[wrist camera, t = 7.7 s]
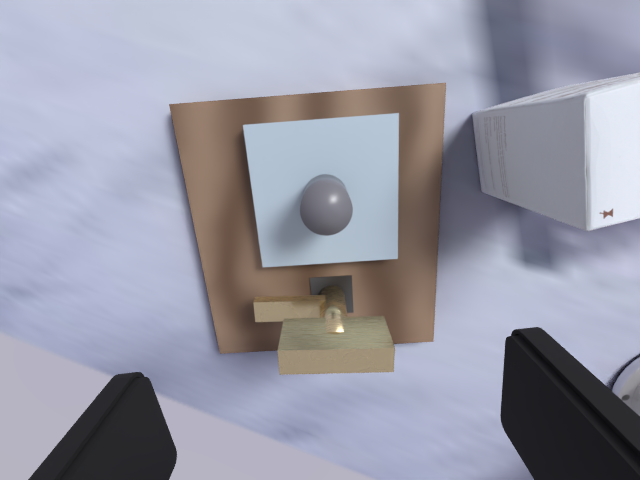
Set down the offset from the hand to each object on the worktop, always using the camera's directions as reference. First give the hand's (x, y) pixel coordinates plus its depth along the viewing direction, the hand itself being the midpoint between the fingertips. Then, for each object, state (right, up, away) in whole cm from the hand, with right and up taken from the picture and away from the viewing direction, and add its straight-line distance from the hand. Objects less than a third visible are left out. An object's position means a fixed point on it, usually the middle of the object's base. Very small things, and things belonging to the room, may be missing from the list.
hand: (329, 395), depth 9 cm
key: (-1, -1, +23) cm, 23 cm away
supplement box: (+17, +13, +20) cm, 29 cm away
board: (0, +5, +22) cm, 23 cm away
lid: (0, +8, +20) cm, 21 cm away
